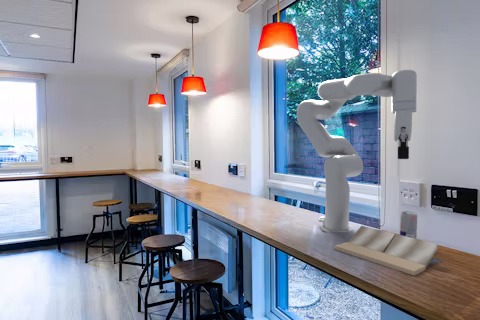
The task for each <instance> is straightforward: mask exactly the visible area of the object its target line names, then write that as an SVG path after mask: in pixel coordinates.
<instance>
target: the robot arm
mask: <svg viewBox="0 0 480 320" xmlns="http://www.w3.org/2000/svg"><path fill="white" fill-rule="evenodd" d="M417 78H418V77H417V72H416V71H415V70H414V69H401V70H398V71H395V72H394V73H393V74H392V75H387V74H383V73H377V72H370V73H369V72H368V73H362V74H355V75H352V76H350V77H347V78H339V79H331V80H326V81H323V82H321V83H320V84H319V85H318V88H317V95H318V97H320V99H322V100H316V99H307V100H303V101H301V102H300V103H299V104H298V106H297V109H296V120H297V122H298V125H299V127H300V128H301V130H302V131H303V133H304V134H305V135H306V136H307V138H308V140H309V142H310V143H311V145H312V147H313V148H314V151H316V153H317V154H318V156H320V157H321V158H326V159H325V161H324V164H323V170H324V171H323V172H324V176H325V204H324V205H325V207H324V209H325V210H324V211H325V212H324V216H320V217H319V219H318V222H319V223H322V225H321V226H320V229H321V231H323V232H324V233H327V232H332V233H349V232H352V231H353V227H351V226H349V221H350V195H351V193H350V192H351V191H350V186H349V182H348V179H347V178H355V177H357V176H359V175H361V174H362V172H363V170H364V162H363V160H362V158H361V156H360V155H359V154H358V152H357V151H356V149H355V148H354V146H353V145H352V144H351V142H350V141H349V140H348V139H347V138H346V137H344V136H340V135H331V134H330V133H329V131H328V130H327V128H326V127H325V126H324V125H323V124H322V123H321V122H320V121H318V120H322V121H323V120H324V121H325V120H329V119H331V118H332V117H334V116H335V115H336V113H337V112H338V111H339V110H340V109H341V108H342V106H344V104H345V103H346V102H347V101H348V100H349V101H350V100H353V99H355V98H356V97H357V96H374V97H382V98H391V112H390V113H391V114H394V118H393V119H394V123H393V124H394V125H393V128H394V130H393V136H394V138H393V140H394V142H396V143H397V142H398V146H397V159H398V160H409V159H410V158H409V157H410V156H409V155H410V146H409V142H410V141H411V138H412V130H413V113H417V86H418V84H417V82H418V81H417Z"/></svg>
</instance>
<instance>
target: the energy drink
mask: <svg viewBox="0 0 480 320" xmlns="http://www.w3.org/2000/svg"><path fill="white" fill-rule="evenodd" d="M399 217H400V221H399V222H400V223H399V224H400V225H399V235H402V236H406V237H410V238H414V239H417V234H418V233H417V232H418V231H417V230H418V214H417V212H415V211H408V210H404V211H403V210H402V211H401V213H400V216H399Z"/></svg>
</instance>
